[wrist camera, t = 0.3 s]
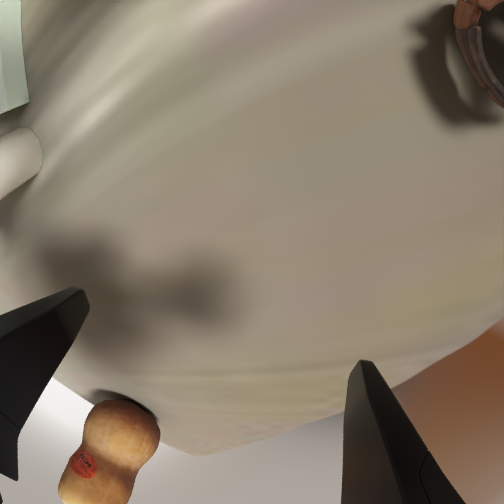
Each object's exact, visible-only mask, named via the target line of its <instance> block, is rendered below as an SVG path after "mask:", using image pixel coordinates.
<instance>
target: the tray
mask: <svg viewBox="0 0 504 504" xmlns="http://www.w3.org/2000/svg"><path fill="white" fill-rule="evenodd" d="M28 102H30V100H29V94H28V88H27V81H26V74H25V65H24V56H23V45H22V31H21V0H0V114H1V113H4V112H6V111H9V110H11V109H14V108H16V107H18V106H21V105H23V104H26V103H28Z"/></svg>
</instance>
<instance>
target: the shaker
mask: <svg viewBox="0 0 504 504" xmlns="http://www.w3.org/2000/svg"><path fill="white" fill-rule="evenodd" d="M42 163H43V154H42V148H41V145H40V142H39V140H38V138H37V137H36V135H35V134H34V133H33V131H31V130H30V129H29V128H27V127H19V128H17V129H15V130H13V131H11V132H9V133H7V134H5V135H3V136H1V137H0V200H1V199H2V198H4V197H5V196H6V195H8V194H9V193H10V192H12V191H13V190H15V189H16V188H17V187H19V186H20V185H22V184H23V183H24V182H26V181H27V180H29V179H30V178H32V177H33V176H35V175H36V174H38V173H39V171H40V170H41V167H42Z"/></svg>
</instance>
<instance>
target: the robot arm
mask: <svg viewBox="0 0 504 504" xmlns="http://www.w3.org/2000/svg"><path fill="white" fill-rule="evenodd" d="M89 309H90V305H89V302H88V299H87V296H86V294H85V291H84V290H83V289H81V288H78V287H71V288H68V289H65V290H63V291H60V292H58V293H55V294H53V295H50V296H47V297H45V298H42V299H40V300H37V301H35V302H32V303H30V304H27V305H25V306H22V307H20V308H17V309H15V310H12V311H10V312H7V313H5V314H2V315H0V473H1V474H3V475H5V476H7V477H9V478H11V479H13V480H15V481H18V457H17V456H18V453H17V452H18V449H17V443H18V437H19V434H20V431H21V429H22V428H23V426H24V424H25V422H26V420H27V418H28V417H29V415H30V413H31V411H32V410H33V408H34V406H35V404H36V402H37V401H38V399H39V397H40V395H41V394H42V392H43V390H44V389H45V387H46V386H47V384H48V382H49V381H50V379H51V377H52V376H53V374H54V372H55V371H56V369H57V368H58V366H59V364H60V363H61V361H62V360H63V358H64V356H65V355H66V353H67V352H68V350H69V349H70V347H71V345H72V344H73V342H74V340H75V338H76V336H77V334H78V332H79V330H80V328H81V326H82V325H83V323H84V321H85V319H86V317H87V315H88V313H89ZM343 427H344V428H343V429H344V430H343V433H344V436H343V438H344V439H343V474H342V495H341V504H466V503H465V502H464V501H463V499H462V498H461V497H460V495H459V494H458V493H457V491H456V490H455V489H454V487H453V486H452V485H451V483H450V482H449V480H448V479H447V477H446V476H445V475H444V473H443V472H442V470H441V469H440V467H439V465H438V464H437V462H436V461H435V459H434V458H433V456H432V454H431V453H430V451H428V448H427V447H426V445H425V444H424V442H423V441H422V439H421V437H420V435H419V434H418V432H417V430H416V429H415V427H414V426H413V424H412V422H411V421H410V419H409V418H408V416H407V414H406V413H405V411H404V410H403V408H402V407H401V405H400V403H399V402H398V400H397V399H396V397H395V396H394V394H393V392H392V391H391V389H390V388H389V386H388V385H387V383H386V381H385V380H384V378H383V377H382V375H381V374H380V372H379V371H378V369H377V368H376V366H375V365H374V363H373V362H372V361H368V360H359V361H358V363H357V364H356V366H355V367H354V369H353V370H352V372H351V373H350V375H349V379H348V387H347V396H346V405H345V413H344V426H343ZM2 502H3V500H2V497H1V494H0V504H2Z"/></svg>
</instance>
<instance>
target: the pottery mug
mask: <svg viewBox="0 0 504 504" xmlns="http://www.w3.org/2000/svg"><path fill="white" fill-rule="evenodd" d="M503 1H504V0H469V1H468V2H466V1H464V0H458V1H457V3H456V7H455V11H454V19H453V24H454V25H455V26H456V28H455V29H454V34H455V37H456V40H457V43H458V46H459V48H460V51H461V53H462V56H463V58H464V60H465V62H466V64H467V66H468V68H469V70H470V72H471V74H472V75H473V77H474V78H475V80H476V81H477V83H478V84H479V86H480V87H481V88H482V89H486V90H487V91H488V94H489V96H490V98H491V99H492V100H493V101H495V102H496V103H497V104H498V105H499V106H501V107H502V108H504V87H503V86H502V85H501V83H500V82H499V81H498V80H497V79H496V77H495V75H494V74H493V72H492V70H491V69H490V67H489V65H488V62H487V60H486V57H485V54H484V51H483V46H482V30H481V27H480V26H477V24H478V21H479V17H480V15H481V14H482V12H483V11H484V10H486V11H490V10H491V9H492V8H493V7H494V6H496V5H497V4H499V3H501V2H503Z"/></svg>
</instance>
